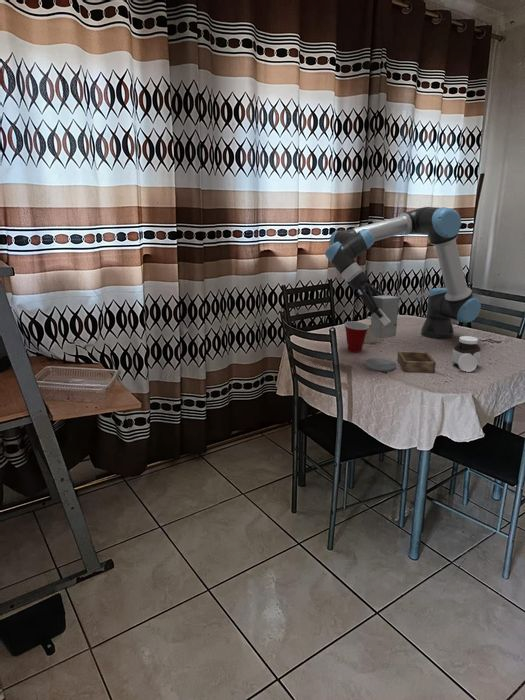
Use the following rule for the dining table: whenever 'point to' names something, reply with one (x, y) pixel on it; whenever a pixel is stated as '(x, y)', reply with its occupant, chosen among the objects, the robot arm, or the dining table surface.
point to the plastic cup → (355, 335)
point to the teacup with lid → (369, 337)
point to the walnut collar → (416, 362)
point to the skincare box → (390, 310)
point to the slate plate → (380, 364)
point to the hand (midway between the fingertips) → (391, 320)
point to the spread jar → (466, 353)
